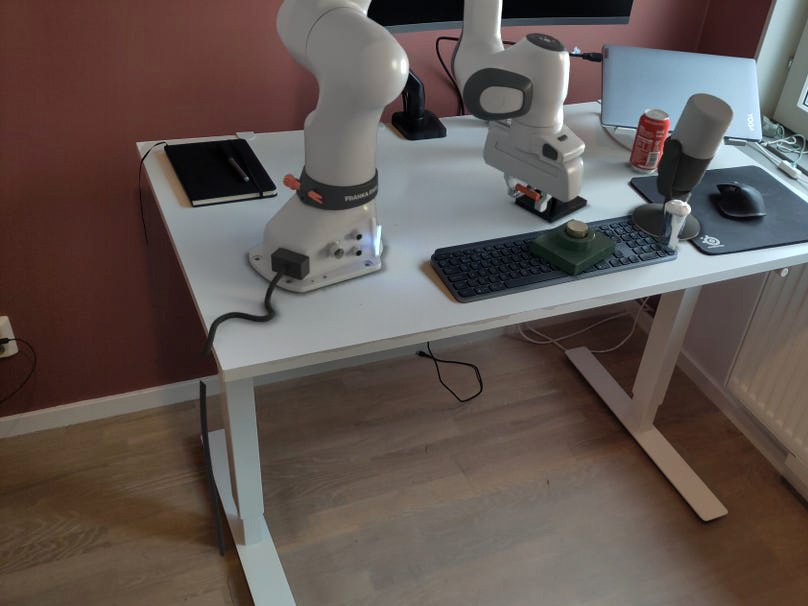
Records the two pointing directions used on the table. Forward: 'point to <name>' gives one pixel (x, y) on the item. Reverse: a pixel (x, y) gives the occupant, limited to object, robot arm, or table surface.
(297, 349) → the table surface
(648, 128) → the beverage can
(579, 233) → the button
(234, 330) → the table surface
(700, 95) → the microphone
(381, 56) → the robot arm
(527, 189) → the switch lever
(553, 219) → the switch bracket
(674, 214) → the milkshake
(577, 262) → the button housing
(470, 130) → the table surface
